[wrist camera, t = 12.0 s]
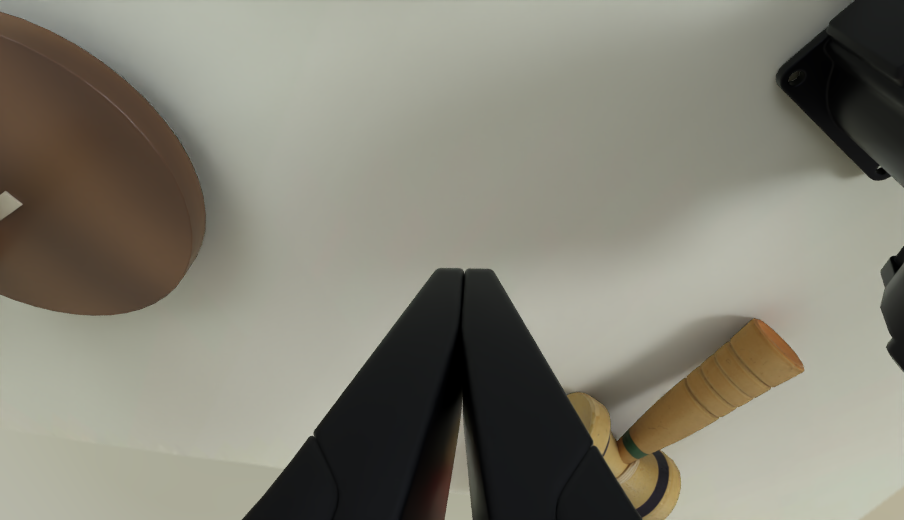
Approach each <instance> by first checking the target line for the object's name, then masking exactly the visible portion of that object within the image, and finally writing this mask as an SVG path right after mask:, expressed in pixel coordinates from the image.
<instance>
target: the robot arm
mask: <svg viewBox="0 0 904 520" xmlns="http://www.w3.org/2000/svg"><path fill="white" fill-rule="evenodd" d="M796 71H800V74H799V76H798V77H797V78H796V79H795V80H793V81H788V80H789V77H790V76H791V75H792V74H793V73H794V72H796ZM776 82H777V84H778V86H779V87H780V88H781V89H782V90H783V91H784V92H785V93H786V94H787V95H788V96H789V97H790V98H791V99H792V100H793V101H794V102H795V103H796V104H797V105H798V106H799V107H800V108H801V109H802V110H803V111H804V112H805V113H806V114H807V115H808V116H809V117H810V118H811V119H812V120H813V121H814V122H815V123H816V124H817V125H818V126H819V127H820V128H821V129H822V130H823V131H824V132H825V133H826V134H827V135H828V136H829V137H830V138H831V139H832V140H833V141H834V142H835V143H836V144H837V145H838V146H839V147H840V148H841V149H842V150H843V151H844V152H845V153H846V154H847V155H848V156H849V157H850V158H851V159H852V160H853V161H854V162H855V163H856V165H857V166H858V167H859V168H860V169H861V170H862V171H863V172H864V173H865V174H866V175H867V176H868V177H869V178H871V179H873V180H877V181H880V180H884V179H887V178H889V177H891V176H892V177H893V178H894V179H895V180H896V181H897V182H898V183H900V184H901V185H902V186H903V187H904V0H854V1H853V2H852V3H851V4H850V5H849V6H847V7H846V8H845V9H844V10H843V11H842V12H840V13H839V14H838V15H837V16H836V17H835V18H833V19H832V20H831V21H830V23H829V25H828V27H827V28H826V29H824V30H823V31H822V32H821V33H820V34H819V35H817V36H816V37H815V38H814V39H813V40H812V41H810V42H809V43H808V44H807V45H806V46H805V47H803V48H802V49H801V50H800V51H799V52H798V53H796V54H795V55H794V56H793V57H792V58H790V59H789V60H788V61H787V62H786V63H785V64H783V65H782V67H781V68H780V69H779V70H778V72H777V74H776ZM879 166H881V168H879V169H877V168H878V167H879ZM881 275H882V279H883V283H884V286H885V290H884V294H883V298H882V302H881V306H880V308H881V310H882V313H883V316H884V319H885V322H886V325H887V328H888V330H889V333H890V335H891V336H892V339H891V340H890V341H889V342H888V344H887V346H886V348H887V350H888V352H889V354H890V356H891V357H892V359H893V360H894V361H895V362H896V364H897V365H898V366H899V367H900V369H901V370H902V371H903V372H904V246H903V248H902V249H901V250H900V252H899V253H898V254H897V256H892V257H890V259H889V260H888V261H887V263H886V264H885V265H884V267H883V268H882V269H881ZM462 397H463V422H464V434H465V444H466V455H467V465H468V476H469V486H470V496H471V507H472V517H473V520H643V519H642V518H641V516H640V515H639V513H638V512H637V511H636V509H635V507H634V506H633V504H632V503H631V501H630V500H629V498H628V496H627V495H626V493H625V492H624V490H623V488H622V487H621V485H620V484H619V482H618V481H617V479H616V477H615V476H614V474H613V473H612V471H611V469H610V468H609V466H608V464H607V462H606V461H605V459H604V457H603V456H602V454H601V452H600V451H599V449H598V447H597V446H593V443H594V441H593V439H592V437H591V436H590V434H589V432H588V431H587V429H586V427H585V426H584V424H583V422H582V420H581V419H580V417H579V415H578V414H577V412H576V410H575V409H574V407H573V405H572V403H571V402H570V400H569V398H568V397H567V395H566V393H565V392H564V390H563V388H562V386H561V385H560V383H559V381H558V380H557V378H556V376H555V375H554V373H553V371H552V370H551V368H550V366H549V364H548V363H547V361H546V359H545V358H544V356H543V354H542V353H541V351H540V349H539V347H538V346H537V344H536V342H535V341H534V339H533V337H532V336H531V334H530V332H529V330H528V329H527V327H526V325H525V324H524V322H523V320H522V319H521V317H520V315H519V313H518V312H517V310H516V308H515V307H514V305H513V303H512V302H511V300H510V298H509V296H508V295H507V293H506V291H505V290H504V288H503V286H502V285H501V283H500V281H499V279H498V278H497V276H496V274H495V273H494V271H493V270H491V269H467V270H466V271H465V274H464V271H463V270H462V269H460V268H438V269H437V270H435V271H434V273H433V274H432V275H431V277H430V278H429V279H428V281H427V282H426V283H425V285H424V286H423V287H422V289H421V290H420V291H419V293H418V294H417V295H416V297H415V298H414V299H413V301H412V302H411V303H410V304H409V306H408V307H407V308H406V310H405V311H404V312H403V314H402V315H401V316H400V318H399V319H398V320H397V322H396V323H395V324H394V326H393V327H392V328H391V330H390V331H389V332H388V334H387V335H386V336H385V338H384V339H383V340H382V342H381V343H380V344H379V346H378V347H377V348H376V350H375V351H374V352H373V354H372V355H371V356H370V357H369V359H368V360H367V361H366V363H365V364H364V365H363V367H362V368H361V369H360V371H359V372H358V373H357V375H356V376H355V377H354V379H353V380H352V381H351V383H350V384H349V385H348V387H347V388H346V389H345V391H344V392H343V393H342V395H341V396H340V397H339V399H338V400H337V401H336V403H335V404H334V405H333V407H332V408H331V409H330V410H329V412H328V413H327V414H326V416H325V417H324V418H323V420H322V421H321V422H320V424H319V425H318V426H317V428H316V429H315V430H314V436H310V437H309V438H308V439H307V440H306V442H305V443H304V444H303V446H302V447H301V448H300V450H299V451H298V453H297V454H296V455H295V457H294V458H293V459H292V461H291V462H290V463H289V464H288V466H287V467H286V468H285V469H284V470H283V472H282V473H281V474H280V476H279V477H278V478H277V480H275V482H274V483H273V484H272V485H271V487H270V488H269V489H268V490H267V492H266V493H265V494H264V496H263V497H262V498H261V499H260V500H259V501H258V502H257V504H255V506H254V507H253V508H252V509H251V510H250V511H249V512H248V513H247V515H246V516H245V517H244V518H243V519H242V520H444V519H445V513H446V506H447V500H448V494H449V488H450V482H451V476H452V470H453V463H454V457H455V451H456V445H457V439H458V433H459V426H460V419H461V411H462Z"/></svg>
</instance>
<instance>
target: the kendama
mask: <svg viewBox="0 0 904 520" xmlns="http://www.w3.org/2000/svg"><path fill="white" fill-rule="evenodd" d="M803 371H804V367H803V364H802V362H801V360H800V359H799V358H798V356H797V355H796V353H795V352H794V351H793V350H792V349H791V347H790V346H789V345H788V344H787V343H786V342H785V341H784V340H783V339H782V338H781V337H780V336H779V335H778V334H777V333H776V332H775V331H774V330H773V329H772V328H770V327H769V326H768V325H767V324H765V323H764V322H763V321H761V320H759V319H755V318H754V319H752V320H751V321H750V322H749V323H748V324H747V325H746V326H744V327H743V328H742V329H741V330H740V331H739V332H738V333H737V334H735V335H734V336H733V337H732V338H731V340H730V342H727V343H725V344H724V345H723V346H722V347H720V348H719V349H718V350H717V351H716V352H715V354H713V355H711V356H710V357H709V358H708V359H706V360H705V361H704V362H703V363H702V364H701V366H699V367H697V368H696V369H695V370H693V371H692V372H691V373H690V374H688V376H687V378H684V379H683V380H681V381H680V382H679V383H678V384H676V385H675V386H674V387H673V388H672V389H671V390H669V391H668V392H667V393H666V394H665V395H664V396H662V397H661V398H660V399H659V400H658V401H657V402H656V403H655V404H654V405H653V406H652V407H651V408H649V410H648V411H647V412H646V413H645V414H644V415H643V416H642V417H641V418H639V419H638V420H637V422H636V423H635V424H634V425H633V426H632V427H631V428H629V430H628V431H627V432H626V433H625V434H624V435H623V436H622V437H621V438H620V439H619V440H618V441H616V440H615V438H614V437H613V435H612V433H611V429H610V425H611V423H610V416H609V413H608V411H607V409H606V407H605V406H604V405H602V404H601V403H600V402H598V401H597V400H595V399H594V398H592V397H591V396H589V395H587V394H585V393H581V392H577V393H572V394H569V395H567V397H568V398H569V400H570V402H571V403H572V405H573V407H574V409H575V410H576V412H577V414H578V415H579V417H580V419H581V420H582V422H583V424H584V426H585V427H586V429H587V431H588V432H589V434H590V436H591V437H592V439H593V441H594V443H593V446H597V447H598V449H599V451H600V452H601V454H602V456H603V457H604V459H605V461H606V462H607V464H608V466H609V468H610V469H611V471H612V473H613V474H614V476H615V477H616V479H617V481H618V482H619V484H620V485H621V487H622V488H623V490H624V492H625V493H626V495H627V496H628V498H629V500H630V501H631V503H632V504H633V506H634V507H635V509H636V511H637V512H638V513H639V515H640V516H641V518H642V519H643V520H664V519H665V518H666V517H667V516H669V514H670V513H671V512H672V510H673V509H674V507H675V505H676V503H677V500H678V497H679V494H680V489H681V478H680V472H679V470H678V468H677V466H676V465H675V463H674V461H673V460H672V459H671V458H669V457H668V456H667V455H666V454H665V453H664V452H662V451H661V450H660V449H662V448H664V447H666V446H668V445H671V444H673V443H675V442H677V441H679V440H681V439H683V438H685V437H687V436H689V435H691V434H693V433H695V432H697V431H698V430H700V429H702V428H704V427H706V426H707V425H709V424H711V423H713V422H714V421H716V420H717V419H719V417H723V416H725V415H727V414H728V413H730V412H731V411H733V410H735V409H736V408H737V407H740V406H742V405H744V404H746V403H747V402H749V401H750V400H752V399H753V398H756V397H758V396H759V395H761V394H763V393H765V392H766V391H768V390H770V389H771V387H776V386H778V385H779V384H781V383H783V382H785V381H787V380H789V379H791V378H793V377H795V376H797V375H798V374H800V373H802V372H803Z"/></svg>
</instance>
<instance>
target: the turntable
mask: <svg viewBox="0 0 904 520" xmlns="http://www.w3.org/2000/svg"><path fill="white" fill-rule="evenodd" d="M205 223H206V212H205V205H204V197H203V194H202V190H201V187H200V183H199V180H198V177H197V175H196V173H195V170H194V168H193V166H192V163H191V161H190V159H189V157H188V156H187V154H186V152H185V150H184V149H183V147H182V145H181V143H180V142H179V140H178V139H177V137H176V136H175V134H174V133H173V132H172V130H171V129H170V128H169V126H168V125H167V124H166V122H165V121H164V119H163V118H162V117H161V116H160V115H159V114H158V113H157V112H156V110H155V109H154V108H153V107H152V106H151V105H150V104H149V103H148V101H147V100H146V99H145V98H144V97H143V96H142V95H141V94H139V93H138V92H137V91H136V90H135V89H134V88H133V87H132V86H131V85H130V84H129V83H128V82H127V81H126V80H124V79H123V78H122V77H121V76H119V75H118V74H117V73H116V72H114V71H113V70H112V69H111V68H109V67H108V66H107V65H105V64H104V63H103V62H102V61H100V60H99V59H97V58H96V57H94V56H92V55H91V54H89V53H88V52H86V51H85V50H83V49H82V48H80V47H79V46H77V45H76V44H74V43H72V42H70V41H68V40H66V39H64V38H63V37H61V36H59V35H57V34H55V33H53V32H51V31H50V30H47V29H45V28H43V27H40V26H38V25H36V24H33V23H31V22H28V21H26V20H24V19H21V18H18V17H15V16H12V15H8V14H5V13H2V12H0V295H3V296H6V297H8V298H11V299H13V300H16V301H19V302H22V303H26V304H29V305H32V306H35V307H39V308H44V309H48V310H52V311H57V312H63V313H69V314H78V315H91V316H96V315H115V314H123V313H128V312H132V311H136V310H140V309H143V308H145V307H147V306H150V305H152V304H154V303H156V302H158V301H159V300H161V299H162V298H164V297H166V296H167V295H168V294H169V293H170V292H171V291H172V290H173V289H174V288H176V287H177V285H178V284H179V282H180V281H181V279H182V278H183V277H184V275H185V274H186V272H187V271H188V269H189V268H190V266H191V265H192V263H193V262H194V260H195V259H196V257H197V255H198V253H199V250H200V248H201V246H202V243H203V238H204V234H205Z"/></svg>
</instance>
